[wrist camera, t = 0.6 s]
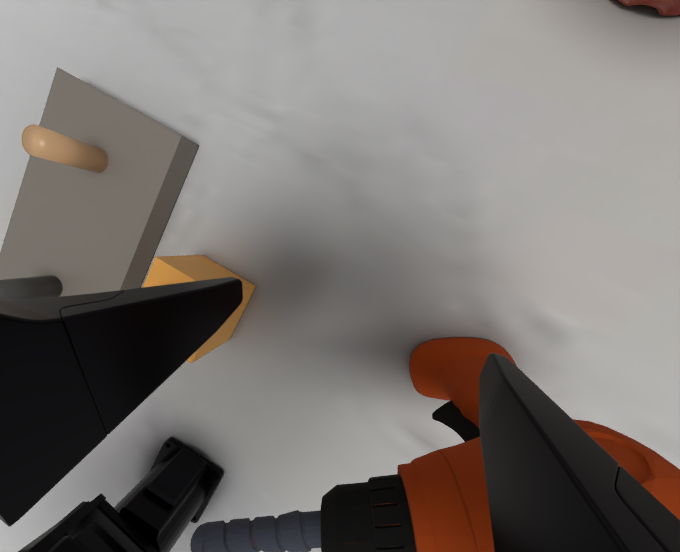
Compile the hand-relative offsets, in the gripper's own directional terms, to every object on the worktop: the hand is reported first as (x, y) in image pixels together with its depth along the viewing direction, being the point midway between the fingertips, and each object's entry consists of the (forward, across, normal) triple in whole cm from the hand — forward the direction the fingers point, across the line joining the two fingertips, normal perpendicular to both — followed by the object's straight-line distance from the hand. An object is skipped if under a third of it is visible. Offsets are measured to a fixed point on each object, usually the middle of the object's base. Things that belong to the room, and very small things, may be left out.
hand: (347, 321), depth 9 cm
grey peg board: (+7, +27, +3) cm, 28 cm away
